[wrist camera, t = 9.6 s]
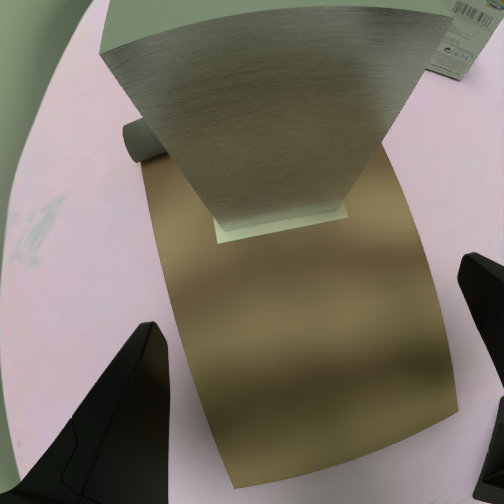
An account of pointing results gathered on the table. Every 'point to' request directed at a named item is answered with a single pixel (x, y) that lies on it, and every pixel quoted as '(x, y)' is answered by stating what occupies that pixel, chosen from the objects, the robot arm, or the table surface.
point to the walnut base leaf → (302, 322)
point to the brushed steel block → (271, 92)
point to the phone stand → (493, 465)
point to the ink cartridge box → (466, 35)
